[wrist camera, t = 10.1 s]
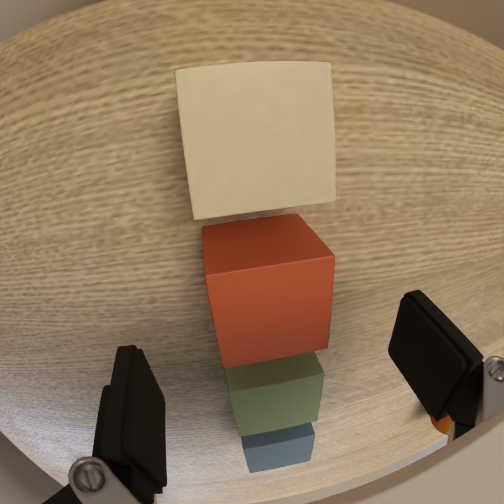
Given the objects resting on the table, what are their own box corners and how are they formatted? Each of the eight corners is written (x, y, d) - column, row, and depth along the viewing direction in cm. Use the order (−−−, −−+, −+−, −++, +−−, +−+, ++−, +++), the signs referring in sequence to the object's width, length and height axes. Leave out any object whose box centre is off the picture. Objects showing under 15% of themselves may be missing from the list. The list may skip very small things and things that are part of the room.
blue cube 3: (233, 395, 22) (243, 449, 17) (296, 383, 22) (315, 434, 18) (240, 426, 24) (249, 473, 19) (295, 415, 24) (310, 460, 20)
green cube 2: (219, 329, 18) (228, 392, 14) (298, 316, 19) (324, 373, 15) (230, 379, 21) (239, 436, 16) (297, 367, 21) (317, 420, 17)
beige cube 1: (182, 85, 12) (174, 70, 8) (288, 76, 13) (331, 62, 8) (195, 186, 14) (193, 221, 10) (295, 174, 15) (336, 202, 10)
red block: (201, 226, 15) (204, 275, 11) (297, 213, 16) (335, 255, 11) (215, 305, 18) (223, 368, 13) (298, 291, 18) (327, 347, 14)
